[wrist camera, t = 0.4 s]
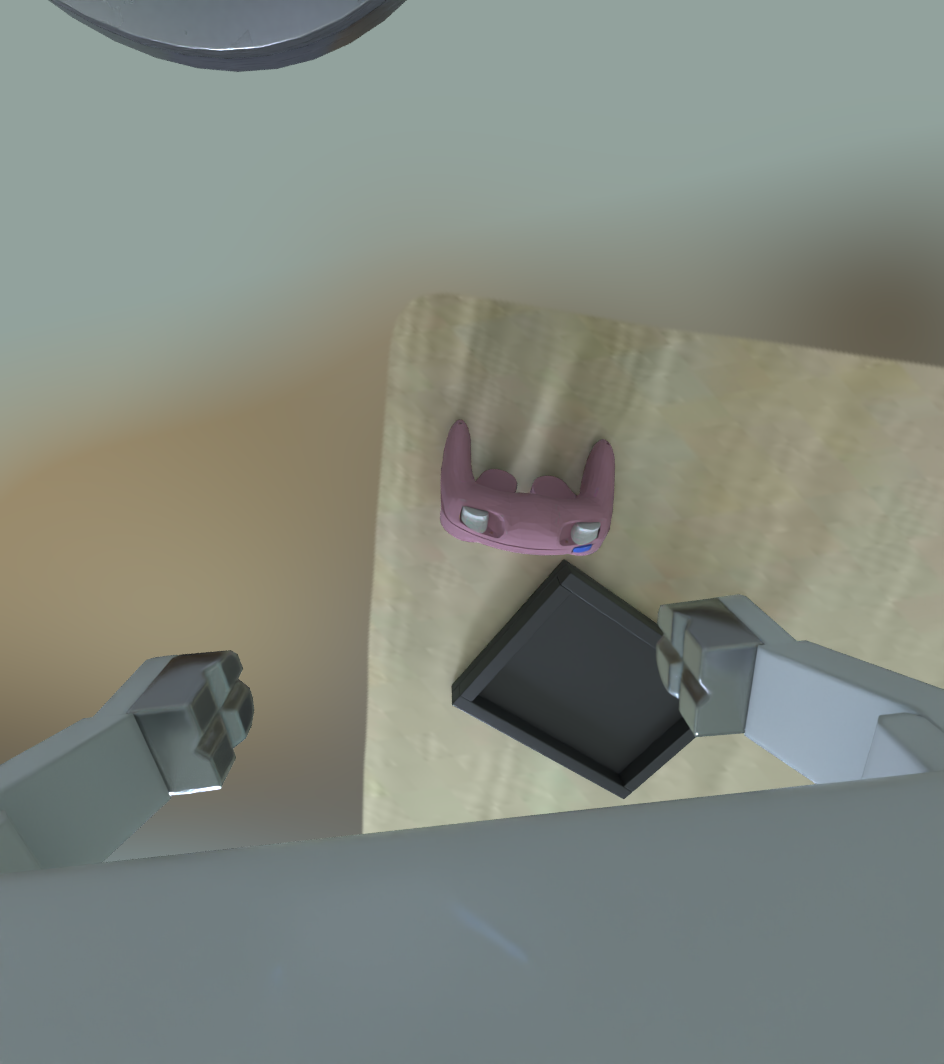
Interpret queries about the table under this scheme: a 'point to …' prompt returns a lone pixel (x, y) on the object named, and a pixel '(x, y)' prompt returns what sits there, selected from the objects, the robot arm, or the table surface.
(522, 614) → the black rectangular tray
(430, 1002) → the robot arm
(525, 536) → the video game controller
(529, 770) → the table surface
